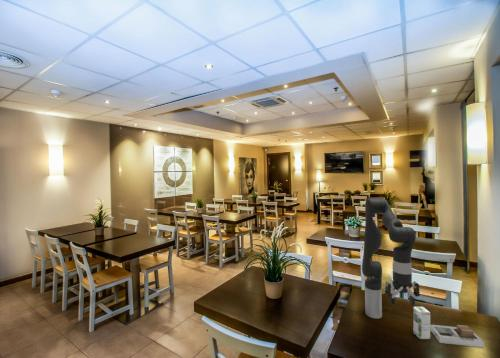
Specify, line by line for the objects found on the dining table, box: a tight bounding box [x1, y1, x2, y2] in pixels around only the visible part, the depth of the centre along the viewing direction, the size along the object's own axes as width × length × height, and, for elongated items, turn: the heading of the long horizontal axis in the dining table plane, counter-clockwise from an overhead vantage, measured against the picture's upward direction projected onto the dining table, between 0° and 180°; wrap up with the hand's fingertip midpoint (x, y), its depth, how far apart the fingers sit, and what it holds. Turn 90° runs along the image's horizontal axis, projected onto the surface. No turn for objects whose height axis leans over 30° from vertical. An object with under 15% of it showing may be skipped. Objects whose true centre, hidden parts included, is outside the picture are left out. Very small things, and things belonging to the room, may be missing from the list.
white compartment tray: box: [430, 324, 485, 349], centre depth 133 cm, size 11×19×3 cm, turn 77°
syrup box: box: [412, 306, 431, 340], centre depth 135 cm, size 6×6×14 cm
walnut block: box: [456, 324, 475, 339], centre depth 132 cm, size 5×5×6 cm
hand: (402, 304), depth 116 cm, fingers open, 8 cm apart
